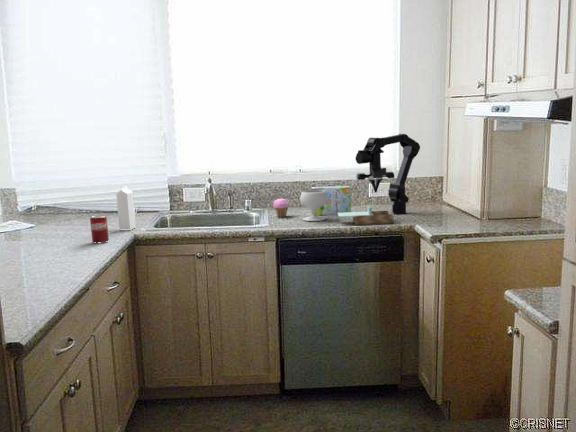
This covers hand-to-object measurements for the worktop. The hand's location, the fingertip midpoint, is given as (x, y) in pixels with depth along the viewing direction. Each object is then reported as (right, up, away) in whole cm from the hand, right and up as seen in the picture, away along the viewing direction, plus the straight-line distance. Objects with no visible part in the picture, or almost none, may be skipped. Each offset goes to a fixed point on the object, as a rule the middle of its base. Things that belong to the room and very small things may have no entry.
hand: (375, 192), depth 305 cm
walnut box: (-3, -15, -13) cm, 20 cm away
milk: (-126, -19, -6) cm, 128 cm away
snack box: (-22, -11, +16) cm, 29 cm away
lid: (-12, -12, -14) cm, 22 cm away
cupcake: (-49, -13, +14) cm, 52 cm away
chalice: (-32, -14, +1) cm, 35 cm away
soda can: (-131, -24, -35) cm, 138 cm away
